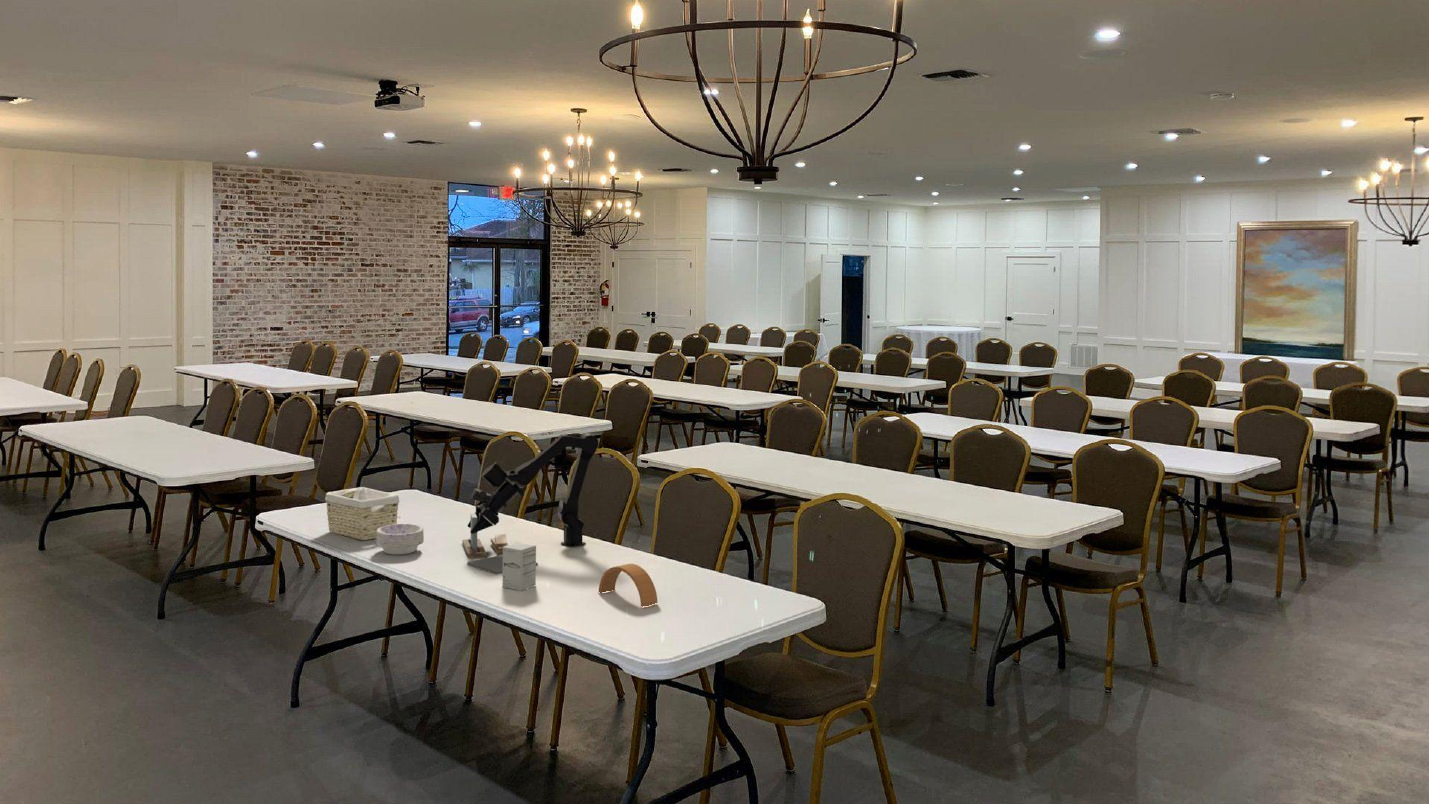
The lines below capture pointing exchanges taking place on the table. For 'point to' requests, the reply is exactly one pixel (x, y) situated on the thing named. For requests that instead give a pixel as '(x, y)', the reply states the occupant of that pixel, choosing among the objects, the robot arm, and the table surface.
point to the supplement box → (519, 566)
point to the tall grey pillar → (474, 536)
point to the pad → (490, 564)
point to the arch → (638, 577)
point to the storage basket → (360, 512)
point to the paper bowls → (400, 538)
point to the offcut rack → (496, 542)
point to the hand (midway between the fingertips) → (469, 529)
